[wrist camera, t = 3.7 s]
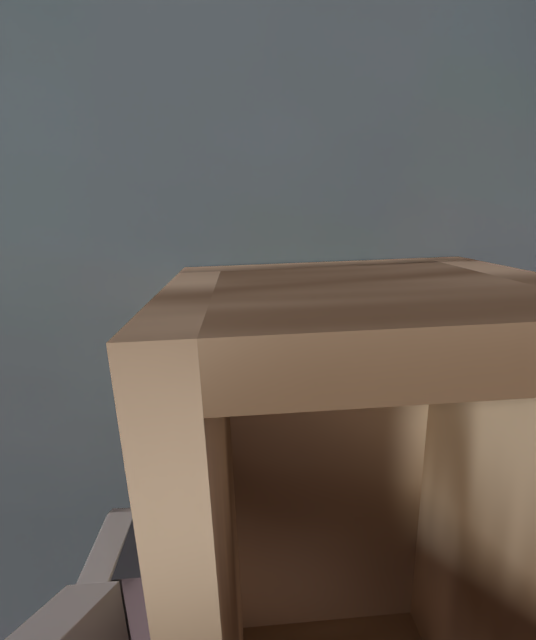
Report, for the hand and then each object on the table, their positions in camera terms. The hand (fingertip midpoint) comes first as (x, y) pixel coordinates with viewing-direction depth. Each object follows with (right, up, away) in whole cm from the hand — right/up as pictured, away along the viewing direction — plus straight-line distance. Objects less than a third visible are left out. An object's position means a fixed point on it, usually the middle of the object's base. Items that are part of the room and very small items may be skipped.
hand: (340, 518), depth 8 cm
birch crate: (0, 0, +2) cm, 2 cm away
